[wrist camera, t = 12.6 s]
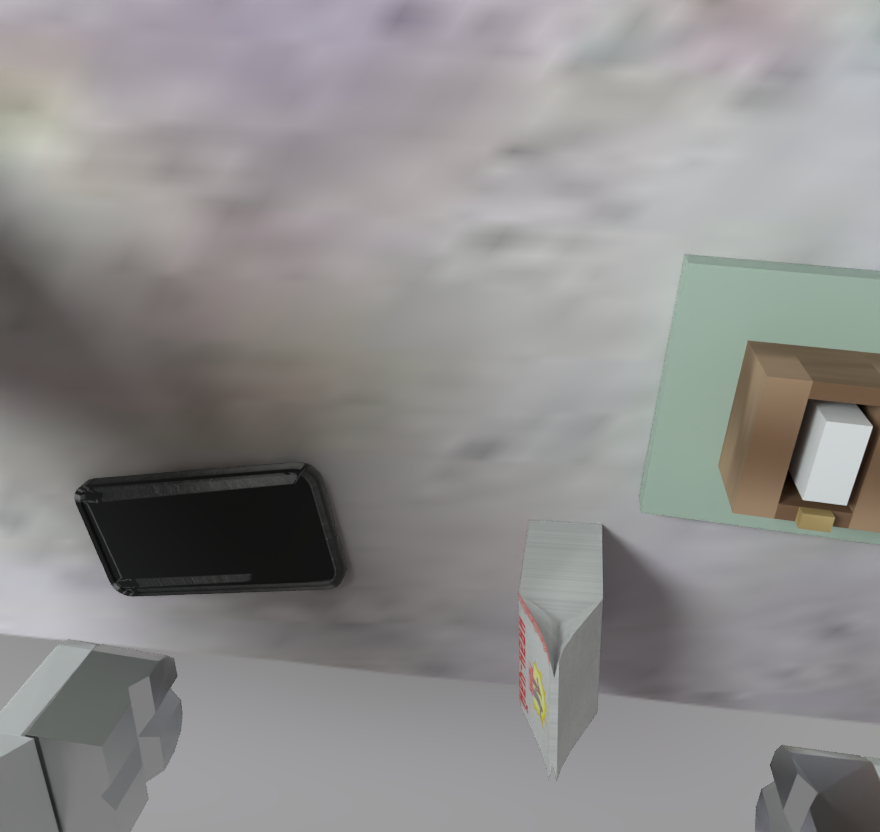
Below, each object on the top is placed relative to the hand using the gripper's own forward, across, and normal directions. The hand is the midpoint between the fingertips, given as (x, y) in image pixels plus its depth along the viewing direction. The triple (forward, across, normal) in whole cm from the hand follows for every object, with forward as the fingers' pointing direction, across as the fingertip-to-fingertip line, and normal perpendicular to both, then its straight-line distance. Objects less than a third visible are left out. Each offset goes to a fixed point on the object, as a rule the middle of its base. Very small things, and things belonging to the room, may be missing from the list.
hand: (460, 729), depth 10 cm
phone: (+27, +16, +17) cm, 36 cm away
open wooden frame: (+24, -12, +5) cm, 27 cm away
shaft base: (+25, -12, +5) cm, 28 cm away
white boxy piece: (+26, -4, +16) cm, 31 cm away
